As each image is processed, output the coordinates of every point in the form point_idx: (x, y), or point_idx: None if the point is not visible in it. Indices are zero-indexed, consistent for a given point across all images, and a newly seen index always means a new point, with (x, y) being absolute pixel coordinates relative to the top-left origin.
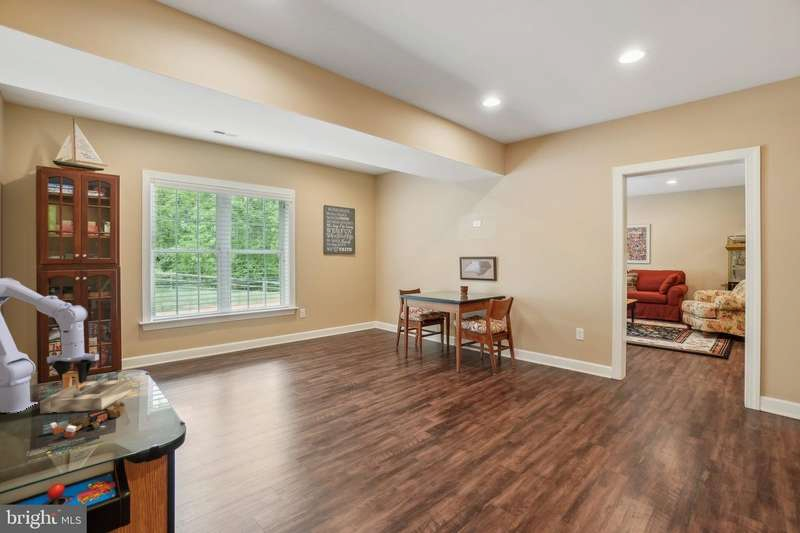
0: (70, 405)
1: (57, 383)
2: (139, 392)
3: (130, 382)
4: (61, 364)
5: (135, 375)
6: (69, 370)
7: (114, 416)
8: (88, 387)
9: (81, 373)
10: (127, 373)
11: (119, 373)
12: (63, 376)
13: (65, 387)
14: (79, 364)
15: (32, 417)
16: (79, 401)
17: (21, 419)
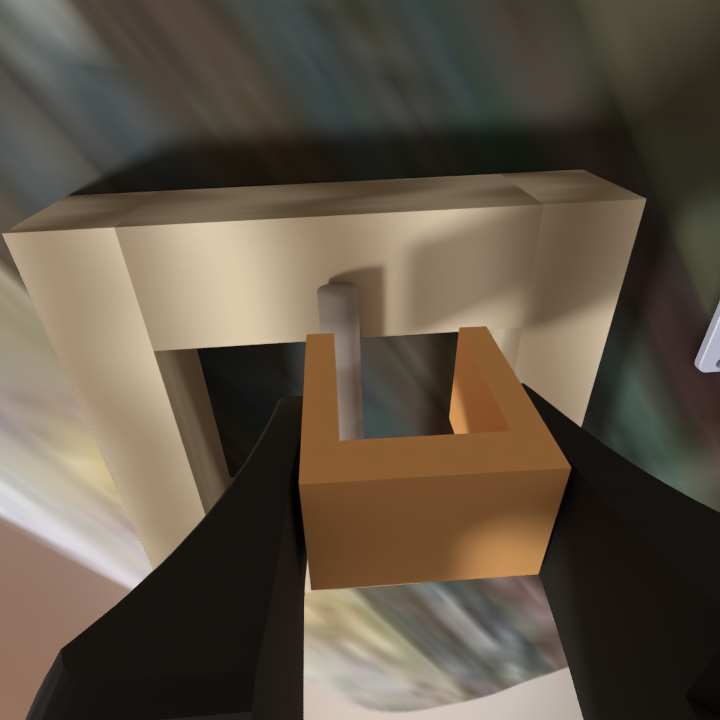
0: (338, 197)
1: None
2: (97, 501)
3: None
4: (714, 683)
5: (353, 677)
6: (546, 593)
7: None
8: None
9: (232, 492)
10: (415, 692)
11: (457, 691)
12: (535, 437)
13: (464, 341)
14: (132, 690)
15: (607, 75)
16: (248, 213)
17: (685, 32)
